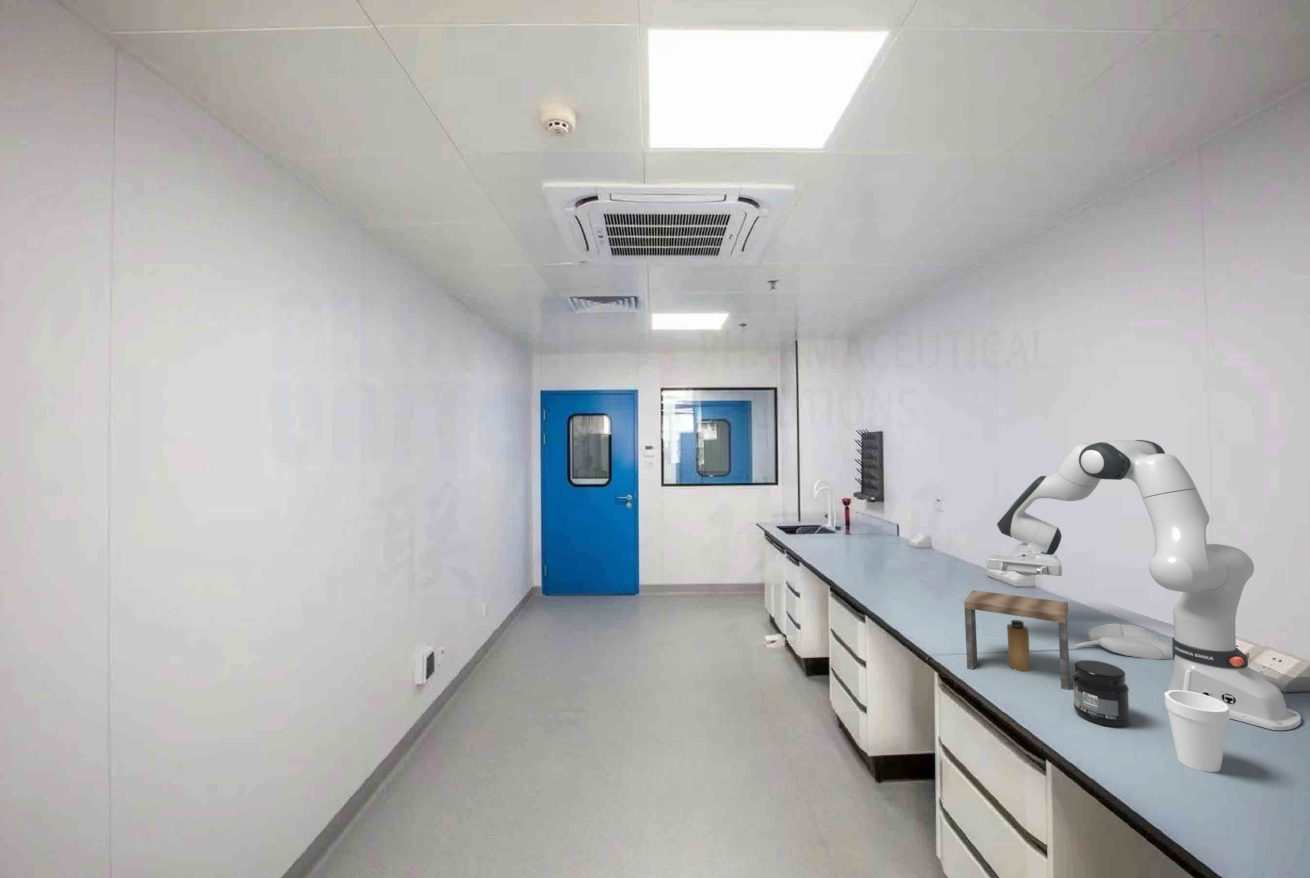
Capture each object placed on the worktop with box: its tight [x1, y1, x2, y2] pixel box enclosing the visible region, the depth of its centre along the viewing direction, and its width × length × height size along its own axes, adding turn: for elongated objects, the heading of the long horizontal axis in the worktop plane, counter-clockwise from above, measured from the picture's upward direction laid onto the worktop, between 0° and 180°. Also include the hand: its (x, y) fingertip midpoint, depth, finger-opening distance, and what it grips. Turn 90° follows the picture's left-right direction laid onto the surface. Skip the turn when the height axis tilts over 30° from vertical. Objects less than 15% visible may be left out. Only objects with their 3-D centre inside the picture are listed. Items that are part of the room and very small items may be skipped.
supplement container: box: [1072, 659, 1131, 727], centre depth 130 cm, size 10×10×12 cm
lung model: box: [1072, 622, 1174, 661], centre depth 169 cm, size 7×17×25 cm
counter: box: [963, 589, 1071, 691], centre depth 157 cm, size 24×14×20 cm, turn 50°
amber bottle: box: [1006, 619, 1031, 672], centre depth 159 cm, size 5×5×14 cm
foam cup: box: [1164, 690, 1231, 773], centre depth 111 cm, size 10×9×13 cm
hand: (1020, 570), depth 168 cm, fingers open, 8 cm apart
